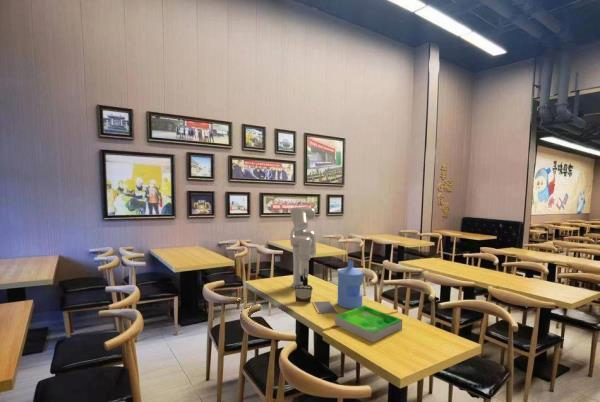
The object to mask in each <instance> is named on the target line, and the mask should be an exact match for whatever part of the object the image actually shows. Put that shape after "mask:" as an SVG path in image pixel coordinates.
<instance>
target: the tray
mask: <svg viewBox="0 0 600 402" xmlns="http://www.w3.org/2000/svg"><path fill="white" fill-rule="evenodd" d="M335 324H336V325H335ZM334 325H335V326H338V327H340V328H342V329H344V330H346V331H348V332H350V333H353V334H354V335H357V336H359V337H361V338H364V339H366V340H367V341H370V342H372V343H374V342H377V341H379V340H381V339H383V338H385V337H387V336H389V335H391V334H393V333H394V332H397V331H399V330H401V329H402V328H403V319H402V318H399V317H396V316H394V315H391V314H389V313H386V312H382V311H380V310H378V309H376V308H372V307H370V306H367V305H362V306H361V307H359V308H356V309H351V310H350V309H349V310H347V311H345V312H343V313H339V314H337V315H336V314H335V316H334Z"/></svg>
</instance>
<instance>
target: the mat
mask: <svg viewBox="0 0 600 402" xmlns="http://www.w3.org/2000/svg"><path fill="white" fill-rule="evenodd" d="M311 303H312V305H313V307H314V309H315V310H316V312H317V314H319V315H321V314H323V315H324V314H338V313H339V310H337V308H336V307H335V305H334V304H333V302H332V301H331V300H330V301H329V300H328V301H312V302H311Z"/></svg>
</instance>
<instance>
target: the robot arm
mask: <svg viewBox="0 0 600 402" xmlns="http://www.w3.org/2000/svg"><path fill="white" fill-rule="evenodd" d="M290 216H291V217H290V218H291V221H292V223H293V227H292V229H291V231H290V235H289V236H290V237H289V240H290V246H291V247H292V257H293V271H292V272H293V274H292V275H293V276H292V279H293V280H292V281H293V282H292V283H291V284H290V286H291V288H293V289H294V287H295V286H296V285H300V284H303V286H308V285H309V271H310V270H309V268H310V267H309V265H310V263H309V261H310V260H311V258H314V257H315V256H316V254H317V246H316V245H317V242H316V234H315V231H313V230H307V229H308V228H309V224H308V223H309V222H308V220H312V221H313V220H315V218H316V210H315V208H313V207H306V206H305V207H301V206H300V207H299V206H298V207H292V208H291V210H290Z"/></svg>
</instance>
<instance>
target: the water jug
mask: <svg viewBox="0 0 600 402" xmlns="http://www.w3.org/2000/svg"><path fill="white" fill-rule="evenodd" d="M347 261H348V263H347V266H346V267H344V268H342V269H339V270H337V271H338V272H337V305H338V306H339V307H341V308H344V309H349V310H350V309H351V310H353V309H356V308H359V307H361V306H363V293H362V292H361V286H362V285H363V280H364V272H362V271H361V270H360V269H358V268H356V267H354V260H352V259H350V260H349V259H348V260H347Z"/></svg>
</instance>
